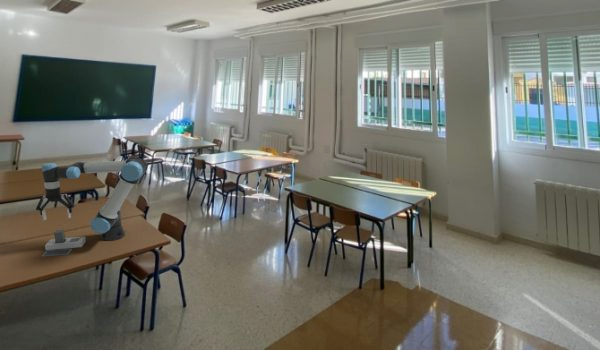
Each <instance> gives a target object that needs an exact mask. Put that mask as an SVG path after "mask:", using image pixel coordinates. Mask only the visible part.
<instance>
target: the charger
mask: <svg viewBox="0 0 600 350" xmlns="http://www.w3.org/2000/svg"><path fill="white" fill-rule="evenodd" d="M65 234H66V233H65V229H60V230H58V229H57V230H55V231H54V232H53V236H54V239H55V242H56V243H64V242H65V241H66V240H65V238H66V235H65Z"/></svg>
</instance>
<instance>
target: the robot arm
mask: <svg viewBox="0 0 600 350" xmlns="http://www.w3.org/2000/svg"><path fill="white" fill-rule="evenodd" d="M147 171H148V164H147V162H146V161H145V160H144V159H142V158H127V159H126V160H114V161H113V160H111V161H90V162H89V161H87V162H84V161H77V162H74V163H72V164H70V165H68V166H67V165H66V166H58V165H57V164H56V162H55V163H53V162H52V163H51V162H48V163H43V164H42V165H41V172H42V178H43V184H44V188H45V190H44V191H45V195H44V194H42V195H40V196H39V202H38V203H37V205H36V208H35V210H36V211H39V212H40V213H39V214H40V216H42V221H45V220H47V214H46V209H45V208H46V207H47V205H49V203H53V202H54V203H57V202H59V203H60V204H62V205H63V206H65V207H66V211H67V218H68V219H72V213H73V208H74V207H75V206H76V205H75V204H74V202H73V201H72V200H71V199H70V197H69V195H68V194H67V193H64V194H62V191H61V187H60V179H62V180H63V179H67V180H68V179H71V180H72V179H79V177H80V176H81V175H83V174H96V173H97V174H101V173H104V174H105V173H120V174H119V175H118V177H119V181H118V182H117V184H116V185H115V188H114V189H113V191H112V193H111V195H110V196H109V198H108V200H107V202H106V203H105V205H103V206H101V207H100V209H99V210H98V212H97V213H96V215H95V217H94V218H93V219H91V221H90V224H89V226H90V228H91V230H92V231H93V232H95V233H97V234H100V239H101V240H103V241H106V242H107V241H110V242H111V241H116V240H120V239H123V238H124V237H125V236H126V230H125V229H124V227H123V225H122V224H123V223H122V215H121V214H122V213H121V212H122V211H121V206H122V205H123V203H125V200H126V199H127V196H129V193H130V191H131V190H132V188H133V187H134V186H135V185H137V184H138V183H139V181H140V179H141V178H142V177H143V175H144V174H145V173H146V172H147ZM45 199H47V200H46V201H45V203H44V204H43V202H44V200H45ZM42 204H43V205H42Z"/></svg>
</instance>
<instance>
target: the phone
mask: <svg viewBox="0 0 600 350" xmlns="http://www.w3.org/2000/svg"><path fill="white" fill-rule="evenodd" d="M72 250H73V248H66V249H55V250H45V252H44V253H43V254H42V255H41V257H43V258H44V257H54V256H66V255H67V256H68V255H69V254H70V253H71V251H72Z"/></svg>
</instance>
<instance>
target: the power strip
mask: <svg viewBox="0 0 600 350" xmlns="http://www.w3.org/2000/svg"><path fill="white" fill-rule="evenodd" d="M65 240H66V241H65V242H64V243H56V242H55V238H54V239H49V240H48V241H47V243H45V246H44V248H45V251H51V250H63V249H73V248H82V247H83V246H84V244H85V243H86V242H87V240H86V236H84V235H83V236H82V235H81V236H77V237H75V236H74V237H65Z"/></svg>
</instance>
